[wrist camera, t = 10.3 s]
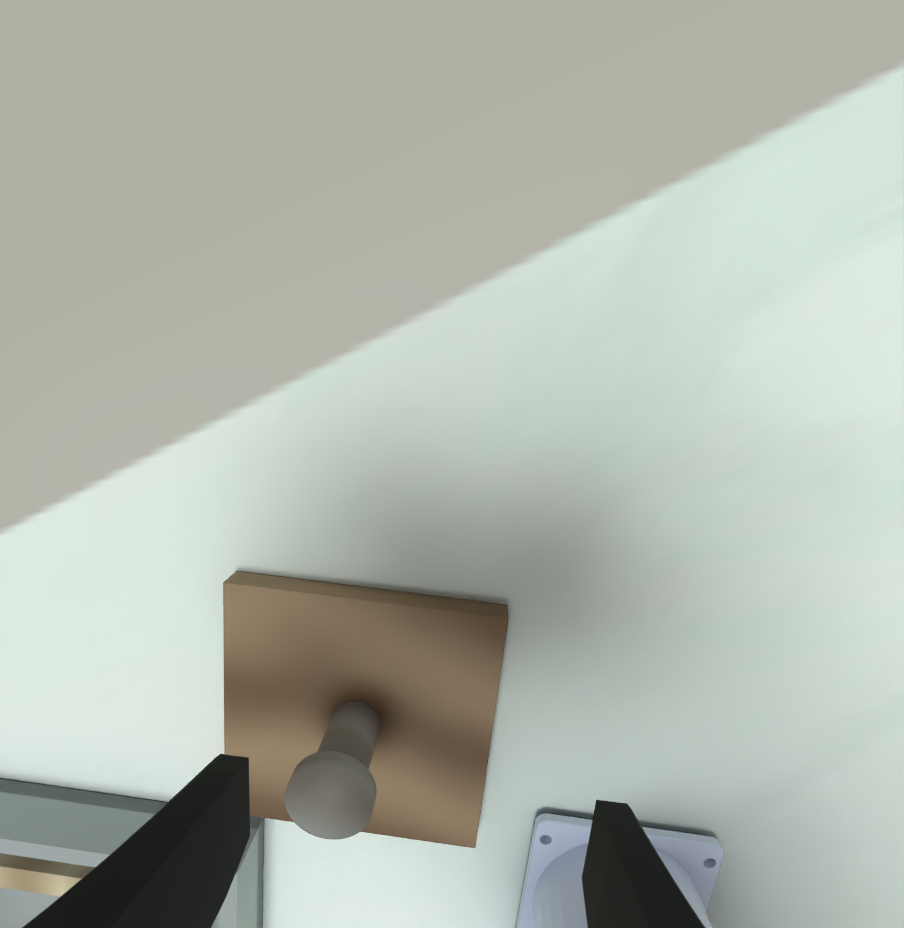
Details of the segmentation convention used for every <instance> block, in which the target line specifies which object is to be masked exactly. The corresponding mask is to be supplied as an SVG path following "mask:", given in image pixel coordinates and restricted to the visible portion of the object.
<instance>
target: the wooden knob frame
mask: <svg viewBox="0 0 904 928" xmlns="http://www.w3.org/2000/svg"><path fill="white" fill-rule="evenodd" d="M94 868H95V867H90V866H83V865H76V864H70V863H63V862H56V861H50V860H43V859H36V858H30V857H23V856H16V855H10V854H3V853H0V887H1V888H8V889H15V890H21V891H28V892H34V893H41V894H47V895H54V896H60V897H61V896H62V895H63V894H64V893H65V892H67V891H68V890H69V889H70V888H71V887H72V886H74V885H75V884H76V883H77V882H78V881H80V880H81V879H82V878H83V877H84V876H86V875H87V874H88V873H89V872H90V871H92V870H93V869H94Z"/></svg>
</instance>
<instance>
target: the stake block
mask: <svg viewBox="0 0 904 928" xmlns="http://www.w3.org/2000/svg"><path fill="white" fill-rule="evenodd" d="M223 606H224V743H225V755H233V756H241V757H249V796H250V816H256V817H263V818H270V819H277V820H284V821H291V822H295V823H296V824H297V825H298V826H299V827H300V828H301V829H303V830H304V831H306V832H308V833H309V834H312V835H314V836H317V837H320V838H325V839H344V838H348V837H351V836H353V835H355V834H357V833H359V832H367V833H374V834H381V835H388V836H395V837H401V838H408V839H415V840H422V841H429V842H436V843H443V844H450V845H457V846H464V847H471V848H475V846H476V839H477V832H478V825H479V818H480V812H481V805H482V798H483V791H484V784H485V777H486V770H487V763H488V756H489V749H490V742H491V735H492V729H493V722H494V715H495V708H496V701H497V694H498V687H499V680H500V673H501V666H502V659H503V652H504V645H505V639H506V632H507V625H508V610H507V605H502V604H494V603H486V602H478V601H470V600H462V599H454V598H446V597H438V596H430V595H422V594H414V593H406V592H398V591H390V590H382V589H374V588H366V587H358V586H350V585H342V584H334V583H326V582H318V581H310V580H302V579H294V578H287V577H279V576H271V575H263V574H255V573H247V572H239V571H236V572H235V573H234V574H233V575H231V576H230V577H229V578H228V579H227V580H226V581H225V582H224V583H223Z"/></svg>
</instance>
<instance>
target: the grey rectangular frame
mask: <svg viewBox="0 0 904 928" xmlns="http://www.w3.org/2000/svg"><path fill="white" fill-rule="evenodd" d="M166 804H167V803H166V802H159V801H152V800H145V799H138V798H131V797H124V796H117V795H110V794H103V793H97V792H90V791H83V790H76V789H69V788H62V787H55V786H48V785H41V784H34V783H27V782H20V781H13V780H6V779H0V853H3V854H10V855H16V856H23V857H30V858H36V859H43V860H50V861H56V862H63V863H70V864H76V865H83V866H90V867H96V866H97V865H99V864H100V863H101V862H102V861H103V860H105V859H106V858H107V857H108V856H109V855H110V854H111V853H113V852H114V851H115V850H116V849H117V848H118V847H119V846H120V845H122V844H123V843H124V842H125V841H126V840H127V839H128V838H129V837H130V836H132V835H133V834H134V833H135V832H136V831H137V830H138V829H139V828H140V827H142V826H143V825H144V824H145V823H146V822H147V821H148V820H149V819H151V818H152V817H153V816H154V815H155V814H156V813H157V812H158V811H159V810H160V809H161V808H162V807H164V806H165V805H166ZM263 842H264V818H263V817H256V816H250V837H249V840H248V842H247V845H246V848H245V850H244V853H243V856H242V858H241V861H240V863H239V866H238V869H237V871H236V874H235V876H234V879H233V881H232V884H231V886H230V889H229V891H228V894H227V896H226V898H225V900H224V903H223V905H222V907H221V909H220V911H219V913H218V915H217V917H216V919H215V921H214V923H213V925H212V927H211V928H262V906H263ZM59 897H60V896H54V895H47V894H41V893H34V892H28V891H21V890H15V889H8V888H1V887H0V928H22V927H23V926H25V925H26V924H27V923H28V922H30V921H31V920H32V919H34V918H35V917H36V916H37V915H39V914H40V913H41V912H42V911H44V910H45V909H46V908H47V907H48V906H50V905H51V904H52V903H53V902H55V901H56V900H57V899H58V898H59Z"/></svg>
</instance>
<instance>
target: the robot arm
mask: <svg viewBox="0 0 904 928" xmlns="http://www.w3.org/2000/svg"><path fill="white" fill-rule="evenodd" d="M543 835H546V836H543ZM249 837H250V796H249V757H241V756H233V755H224V754H220V755H219V756H217V757H216V758H215V759H214V760H213V761H212V762H210V763H209V764H208V765H207V766H206V767H205V768H204V769H203V770H202V771H201V772H200V773H199V774H198V775H197V776H196V777H195V778H193V779H192V780H191V781H190V782H189V783H188V784H187V785H186V786H185V787H184V788H183V789H182V790H181V791H180V792H179V793H178V794H176V795H175V796H174V797H173V798H172V799H171V800H170V801H169V802H168V803H167V804H166V805H165V806H164V807H162V808H161V809H160V810H159V811H158V812H157V813H156V814H155V815H154V816H153V817H152V818H151V819H149V820H148V821H147V822H146V823H145V824H144V825H143V826H142V827H140V828H139V829H138V830H137V831H136V832H135V833H134V834H133V835H132V836H130V837H129V838H128V839H127V840H126V841H125V842H124V843H123V844H122V845H120V846H119V847H118V848H117V849H116V850H115V851H114V852H113V853H111V854H110V855H109V856H108V857H107V858H106V859H105V860H103V861H102V862H101V863H100V864H99V865H97V866H96V867H95V868H94V869H93V870H92V871H90V872H89V873H88V874H87V875H86V876H84V877H83V878H82V879H81V880H80V881H78V882H77V883H76V884H75V885H74V886H72V887H71V888H70V889H69V890H68V891H67V892H65V893H64V894H63V895H62V896H61V897H59V898H58V899H57V900H56V901H55V902H53V903H52V904H51V905H50V906H48V907H47V908H46V909H45V910H44V911H42V912H41V913H40V914H39V915H37V916H36V917H35V918H34V919H32V920H31V921H30V922H28V923H27V924H26V925H25V926H23V927H22V928H211V927H212V925H213V923H214V921H215V919H216V917H217V915H218V913H219V911H220V909H221V907H222V905H223V903H224V900H225V898H226V896H227V894H228V891H229V889H230V886H231V884H232V881H233V879H234V876H235V874H236V871H237V869H238V866H239V863H240V861H241V858H242V856H243V853H244V850H245V848H246V845H247V842H248V840H249ZM723 856H724V850H723V848H722V846H721V844H720V842H719V840H718V839H716V838H714V837H711V836H704V835H697V834H690V833H683V832H676V831H668V830H661V829H654V828H647V827H642V826H641V825H640V823H639V821H638V820H637V818H636V816H635V815H634V813H633V811H632V809H631V808H630V807H629V806H628V804H626V803H617V802H609V801H601V800H596V805H595V810H594V816H593V820H590V819H583V818H576V817H569V816H562V815H555V814H548V813H547V814H541V815H539V816H538V817H537V818H536V820H535V824H534V829H533V835H532V840H531V846H530V852H529V857H528V863H527V869H526V874H525V880H524V885H523V891H522V897H521V902H520V908H519V914H518V919H517V925H516V928H712V927H711V924H710V922H709V919H708V917H707V914H706V913H707V910H708V906H709V903H710V899H711V896H712V893H713V889H714V886H715V883H716V879H717V876H718V873H719V869H720V866H721V862H722V859H723Z"/></svg>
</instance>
